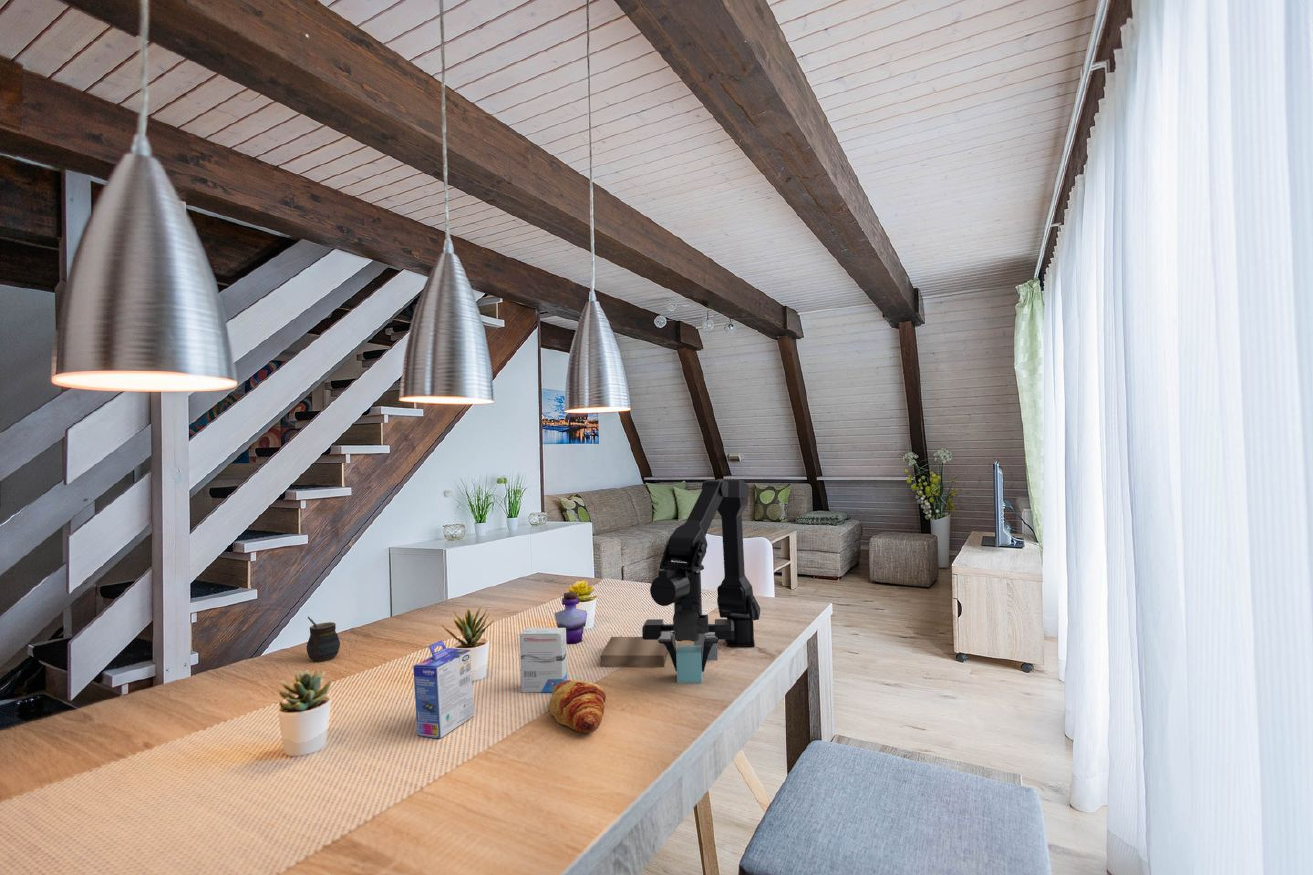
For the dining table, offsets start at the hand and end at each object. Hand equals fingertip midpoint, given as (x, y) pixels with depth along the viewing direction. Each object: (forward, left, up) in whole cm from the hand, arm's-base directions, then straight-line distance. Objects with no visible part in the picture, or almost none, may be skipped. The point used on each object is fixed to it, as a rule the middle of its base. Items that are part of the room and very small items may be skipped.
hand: (689, 670), depth 136 cm
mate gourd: (+88, -12, -2) cm, 89 cm away
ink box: (+29, +6, -2) cm, 30 cm away
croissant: (+19, +19, -2) cm, 27 cm away
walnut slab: (+13, -14, -2) cm, 19 cm away
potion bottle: (+31, -26, -2) cm, 40 cm away
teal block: (0, 0, -2) cm, 2 cm away
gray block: (-3, -14, -2) cm, 14 cm away
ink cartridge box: (+42, +24, -2) cm, 48 cm away
